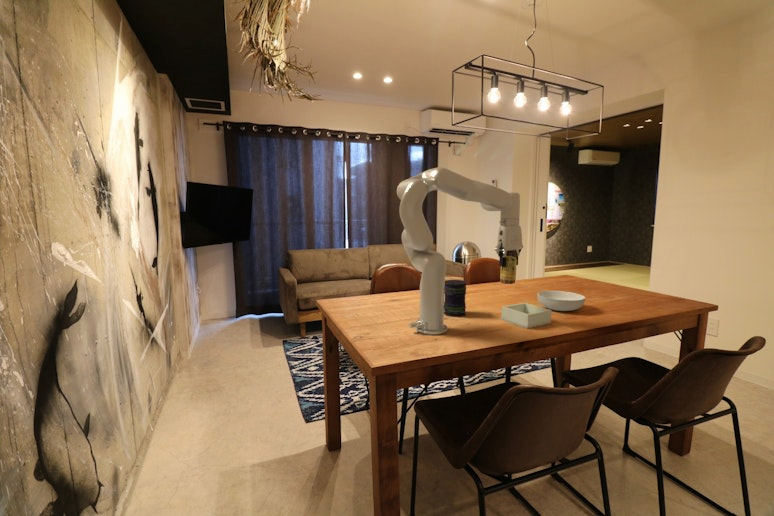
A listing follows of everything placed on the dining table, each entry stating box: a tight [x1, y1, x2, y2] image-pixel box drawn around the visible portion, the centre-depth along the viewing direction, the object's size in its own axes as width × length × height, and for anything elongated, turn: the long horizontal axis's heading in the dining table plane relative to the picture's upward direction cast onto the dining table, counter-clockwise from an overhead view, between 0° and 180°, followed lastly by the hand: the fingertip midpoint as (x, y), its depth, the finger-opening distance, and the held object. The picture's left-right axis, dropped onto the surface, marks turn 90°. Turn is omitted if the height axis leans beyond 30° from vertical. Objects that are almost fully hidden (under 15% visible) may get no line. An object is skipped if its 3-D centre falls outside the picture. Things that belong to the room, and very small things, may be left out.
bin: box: [500, 302, 553, 330], centre depth 158 cm, size 14×14×6 cm
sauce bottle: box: [499, 249, 517, 285], centre depth 157 cm, size 6×6×20 cm
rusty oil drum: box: [444, 279, 467, 318], centre depth 170 cm, size 10×10×15 cm
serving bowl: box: [536, 290, 586, 312], centre depth 178 cm, size 21×21×7 cm
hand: (508, 265), depth 157 cm, fingers closed on sauce bottle, 6 cm apart
